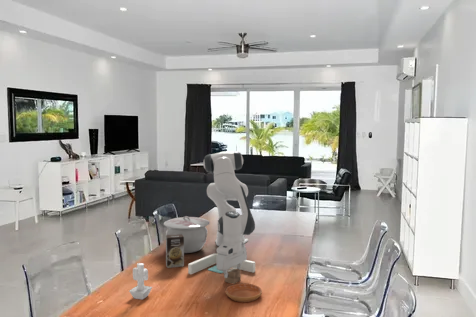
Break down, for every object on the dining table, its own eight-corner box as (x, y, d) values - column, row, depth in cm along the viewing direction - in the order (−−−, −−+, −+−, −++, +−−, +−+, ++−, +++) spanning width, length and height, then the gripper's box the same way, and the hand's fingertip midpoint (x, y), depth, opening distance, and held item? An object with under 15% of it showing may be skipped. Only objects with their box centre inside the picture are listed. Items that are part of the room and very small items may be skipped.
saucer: (241, 286, 195) (241, 280, 195) (269, 295, 185) (269, 288, 185) (218, 297, 183) (218, 290, 182) (246, 307, 172) (246, 300, 172)
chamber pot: (202, 258, 233) (202, 222, 231) (156, 255, 238) (155, 220, 237) (215, 244, 260) (215, 211, 259) (173, 241, 266) (173, 209, 264)
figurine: (153, 293, 186) (153, 261, 184) (142, 302, 177) (141, 268, 175) (139, 291, 188) (139, 259, 187) (127, 300, 179) (126, 266, 178)
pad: (217, 265, 223) (217, 264, 223) (231, 268, 218) (231, 267, 218) (207, 269, 215) (207, 269, 215) (221, 273, 210) (221, 273, 210)
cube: (231, 278, 204) (231, 266, 204) (240, 280, 201) (240, 269, 201) (224, 281, 200) (224, 270, 199) (233, 284, 197) (233, 272, 196)
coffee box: (167, 268, 218) (166, 238, 217) (165, 264, 224) (165, 234, 223) (184, 266, 221) (184, 236, 219) (182, 262, 227) (182, 233, 225)
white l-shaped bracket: (215, 261, 228) (215, 252, 228) (255, 271, 213) (255, 262, 213) (188, 273, 210) (188, 263, 210) (229, 285, 195) (229, 274, 195)
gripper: (239, 240, 209) (239, 267, 210) (214, 250, 193) (214, 279, 194) (249, 242, 206) (249, 269, 207) (225, 252, 189) (225, 282, 190)
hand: (232, 274), depth 200 cm, fingers open, 8 cm apart
